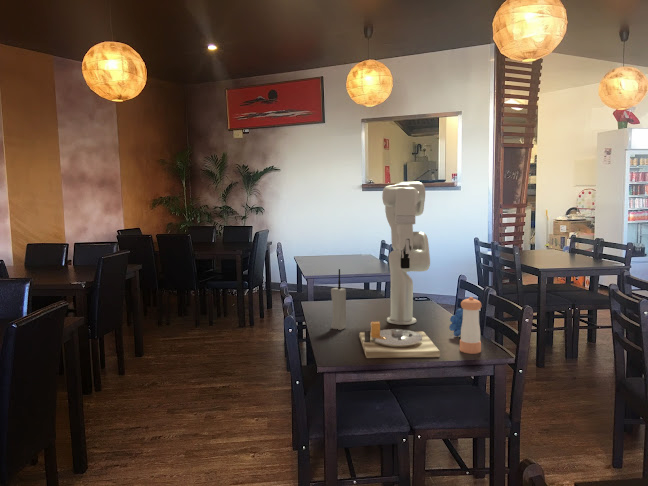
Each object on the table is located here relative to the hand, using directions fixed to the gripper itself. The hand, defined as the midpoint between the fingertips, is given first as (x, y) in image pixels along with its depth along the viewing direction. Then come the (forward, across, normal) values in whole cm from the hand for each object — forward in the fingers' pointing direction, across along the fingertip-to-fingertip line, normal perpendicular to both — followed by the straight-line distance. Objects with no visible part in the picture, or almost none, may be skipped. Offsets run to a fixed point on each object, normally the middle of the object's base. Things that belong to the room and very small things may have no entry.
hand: (405, 268), depth 193 cm
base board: (+27, +12, -5) cm, 30 cm away
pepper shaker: (+27, +18, +20) cm, 38 cm away
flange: (+24, +12, -5) cm, 28 cm away
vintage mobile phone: (+27, -14, -25) cm, 40 cm away
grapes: (+27, 0, +23) cm, 36 cm away
